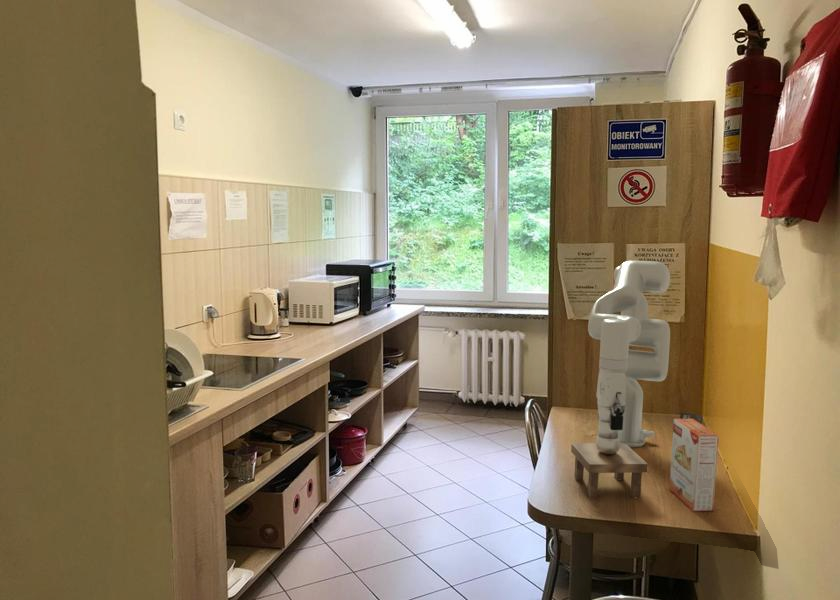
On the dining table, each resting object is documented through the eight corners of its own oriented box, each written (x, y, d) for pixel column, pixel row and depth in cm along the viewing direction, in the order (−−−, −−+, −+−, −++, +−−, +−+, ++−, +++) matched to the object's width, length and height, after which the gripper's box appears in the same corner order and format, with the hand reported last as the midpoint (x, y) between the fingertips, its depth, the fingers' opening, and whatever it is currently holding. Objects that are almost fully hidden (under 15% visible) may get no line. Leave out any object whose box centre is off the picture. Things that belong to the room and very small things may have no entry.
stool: (623, 475, 194) (625, 443, 193) (645, 499, 178) (647, 463, 177) (569, 476, 193) (571, 443, 192) (587, 500, 177) (589, 464, 176)
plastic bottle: (613, 448, 188) (615, 379, 186) (623, 456, 181) (626, 385, 179) (591, 449, 187) (593, 380, 185) (601, 457, 180) (603, 386, 178)
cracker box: (667, 489, 185) (672, 417, 182) (688, 489, 185) (693, 417, 183) (691, 512, 171) (697, 434, 168) (713, 511, 172) (720, 434, 169)
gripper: (589, 356, 189) (586, 414, 191) (611, 371, 172) (607, 434, 174) (615, 357, 190) (611, 414, 192) (639, 371, 173) (635, 434, 175)
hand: (609, 424), depth 183 cm, fingers open, 9 cm apart
